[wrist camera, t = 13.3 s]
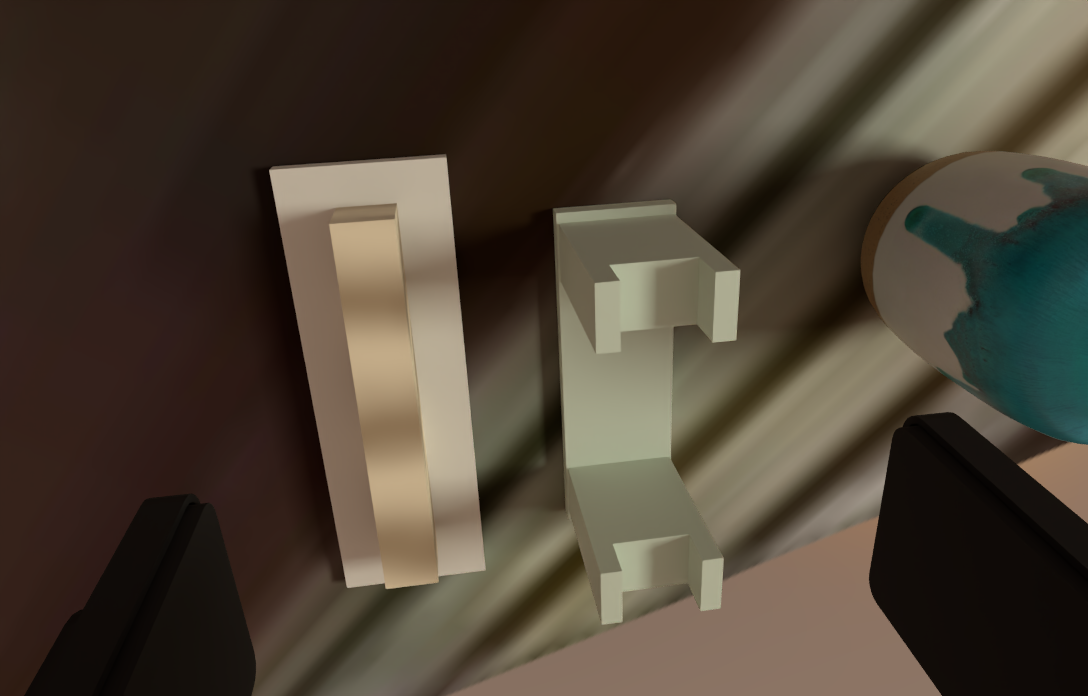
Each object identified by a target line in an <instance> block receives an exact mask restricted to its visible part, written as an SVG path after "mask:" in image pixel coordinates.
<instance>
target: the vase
mask: <svg viewBox="0 0 1088 696" xmlns="http://www.w3.org/2000/svg"><path fill="white" fill-rule="evenodd" d="M861 274H862V279H863V284H864V288H865V291H866V294H867V296H868V299H869V301H870V303H871V305H872V306H873V308H874V309H875V311H876V312H877V314H878V316H879V317H880V319H881V320H882V321H883V322H884V323H885V324H886V325H887V327H888V328H889V329H890V330H891V331H892V332H893V333H894V334H895V335H896V336H897V337H898V338H899V339H900V340H901V341H903V342H904V343H905V344H906V345H907V346H908V347H909V348H910V349H911V350H913V351H914V352H915V353H916V354H917V355H918V356H920V357H921V358H922V359H923V360H925V361H926V362H927V363H928V364H930V365H931V366H932V367H934V368H935V369H937V370H938V371H939V372H941V373H942V374H943V375H945V376H946V377H948V378H949V379H950V380H952V381H953V382H955V383H956V384H958V385H959V386H961V387H962V388H964V389H965V390H967V391H968V392H970V393H971V394H972V395H974V396H975V397H977V398H978V399H980V400H981V401H983V402H985V403H986V404H988V405H989V406H991V407H992V408H994V409H996V410H997V411H999V412H1001V413H1003V414H1004V415H1006V416H1008V417H1010V418H1011V419H1013V420H1015V421H1017V422H1019V423H1021V424H1023V425H1025V426H1027V427H1029V428H1032V429H1034V430H1036V431H1039V432H1041V433H1043V434H1046V435H1048V436H1051V437H1053V438H1056V439H1059V440H1063V441H1068V442H1073V443H1077V444H1086V445H1088V166H1085V165H1081V164H1076V163H1072V162H1068V161H1064V160H1059V159H1054V158H1048V157H1042V156H1036V155H1029V154H1021V153H1012V152H1002V151H974V152H963V153H959V154H955V155H950V156H947V157H944V158H941V159H938V160H936V161H933V162H931V163H928V164H926V165H925V166H923V167H921V168H919V169H918V170H916V171H914V172H913V173H911V174H910V175H909V176H907V177H906V178H905V179H903V180H902V181H901V182H899V183H898V184H897V185H896V186H895V187H894V188H893V189H892V190H891V191H890V192H889V193H888V194H887V195H886V197H885V198H884V199H883V201H882V202H881V203H880V204H879V206H878V208H877V209H876V211H875V213H874V214H873V216H872V218H871V220H870V222H869V225H868V227H867V229H866V233H865V236H864V240H863V244H862V252H861Z"/></svg>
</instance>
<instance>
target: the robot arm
mask: <svg viewBox="0 0 1088 696" xmlns="http://www.w3.org/2000/svg"><path fill="white" fill-rule="evenodd" d="M869 583H870V588H871V592H872V595H873V597H874V599H875V601H876V603H877V604H878V606H879V607H880V609H881V610H882V611H883V613H884V614H885V616H886V617H887V618H888V620H889V621H890V623H891V624H892V626H893V627H894V628H895V630H896V631H897V633H898V634H899V635H900V637H901V638H902V639H903V641H904V642H905V643H906V645H907V647H908V648H909V649H910V651H911V652H912V654H913V655H914V657H915V658H916V659H917V661H918V662H919V664H920V665H921V666H922V668H923V669H924V671H925V672H926V674H927V675H928V676H929V678H930V679H931V680H932V682H933V683H934V685H935V686H936V688H937V689H938V690H939V692H940V693H941V695H942V696H1088V524H1087V523H1086V522H1085V521H1084V520H1083V519H1081V518H1080V517H1079V516H1078V515H1077V514H1075V513H1074V512H1073V511H1072V510H1071V509H1069V508H1068V507H1067V506H1066V505H1065V504H1063V503H1062V502H1061V501H1060V500H1059V499H1057V498H1056V497H1055V496H1054V495H1053V494H1052V493H1050V492H1049V491H1048V490H1047V489H1045V488H1044V487H1043V486H1042V485H1041V484H1039V483H1038V482H1037V481H1036V480H1035V479H1034V478H1032V477H1031V476H1030V475H1029V474H1028V473H1026V472H1025V471H1024V470H1023V469H1022V468H1020V467H1019V466H1018V465H1017V464H1016V463H1014V462H1013V461H1012V460H1011V459H1010V458H1008V457H1007V456H1006V455H1005V454H1004V453H1002V452H1001V451H1000V450H999V449H998V448H996V447H995V446H994V445H993V444H992V443H990V442H989V441H988V440H987V439H986V438H985V437H983V436H982V435H981V434H980V433H979V432H977V431H976V430H975V429H974V428H973V427H971V426H970V425H969V424H968V423H967V422H965V421H964V420H963V419H962V418H961V417H959V416H958V415H956V414H954V413H951V412H945V413H936V414H926V415H917V416H911V417H909V418H907V420H906V421H905V423H904V425H903V427H901V428H898V429H896V431H895V432H894V434H893V438H892V443H891V449H890V455H889V461H888V467H887V473H886V479H885V485H884V490H883V496H882V502H881V508H880V514H879V520H878V526H877V532H876V537H875V543H874V549H873V555H872V561H871V567H870V573H869ZM255 675H256V660H255V654H254V649H253V646H252V642H251V639H250V635H249V631H248V628H247V624H246V620H245V617H244V613H243V609H242V606H241V602H240V599H239V595H238V591H237V588H236V584H235V580H234V577H233V573H232V569H231V566H230V562H229V559H228V555H227V551H226V548H225V544H224V540H223V537H222V533H221V530H220V526H219V522H218V519H217V515H216V512H215V509H214V507H213V505H212V504H210V503H204V504H200V502H199V499H198V498H197V497H196V495H194V494H184V495H175V496H165V497H156V498H149V499H146V500H145V501H144V502H143V503H142V505H141V506H140V508H139V510H138V512H137V513H136V515H135V517H134V519H133V521H132V522H131V524H130V526H129V528H128V530H127V531H126V533H125V535H124V537H123V539H122V540H121V542H120V544H119V546H118V548H117V549H116V551H115V553H114V555H113V557H112V558H111V560H110V562H109V564H108V566H107V567H106V569H105V571H104V573H103V575H102V576H101V578H100V580H99V582H98V584H97V585H96V587H95V589H94V591H93V593H92V594H91V596H90V598H89V600H88V602H87V603H86V605H85V607H84V609H83V610H80V611H78V612H76V613H75V614H73V615H72V616H71V617H70V619H69V620H68V621H67V623H66V624H65V625H64V627H63V629H62V631H61V632H60V634H59V636H58V638H57V639H56V641H55V643H54V645H53V646H52V648H51V650H50V652H49V653H48V655H47V657H46V659H45V660H44V662H43V664H42V666H41V667H40V669H39V671H38V673H37V674H36V676H35V678H34V680H33V681H32V683H31V685H30V687H29V688H28V690H27V692H26V694H25V695H24V696H251V695H252V691H253V687H254V682H255Z"/></svg>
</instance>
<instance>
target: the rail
mask: <svg viewBox="0 0 1088 696" xmlns="http://www.w3.org/2000/svg"><path fill="white" fill-rule="evenodd" d="M329 227H330V233H331V239H332V246H333V252H334V259H335V265H336V272H337V278H338V284H339V291H340V297H341V304H342V310H343V317H344V323H345V329H346V336H347V342H348V349H349V355H350V362H351V368H352V374H353V381H354V387H355V394H356V400H357V406H358V413H359V419H360V426H361V432H362V439H363V445H364V451H365V458H366V464H367V471H368V477H369V484H370V490H371V496H372V503H373V509H374V516H375V522H376V529H377V535H378V541H379V548H380V554H381V561H382V567H383V573H384V580H385V586H386V589H390V588H398V587H406V586H414V585H422V584H430V583H438V547H437V538H436V530H435V521H434V513H433V504H432V496H431V488H430V479H429V471H428V462H427V454H426V445H425V437H424V429H423V420H422V412H421V403H420V395H419V387H418V378H417V370H416V361H415V353H414V344H413V336H412V328H411V319H410V311H409V302H408V294H407V285H406V277H405V269H404V260H403V252H402V243H401V235H400V226H399V218H398V210H397V203H394V204H380V205H366V206H353V207H339V208H336V209H335V212H334V214H333V216H332V219H331V221H330V223H329Z"/></svg>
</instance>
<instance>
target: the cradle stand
mask: <svg viewBox="0 0 1088 696" xmlns="http://www.w3.org/2000/svg"><path fill="white" fill-rule="evenodd" d="M553 222H554V246H555V270H556V294H557V318H558V342H559V366H560V390H561V414H562V438H563V462H564V486H565V510H566V513H567V517H568V520H571V519H572V522H573V526H574V529H575V533H576V536H577V540H578V543H579V547H580V550H581V554H582V557H583V561H584V564H585V568H586V571H587V575H588V578H589V582H590V585H591V589H592V592H593V596H594V599H595V603H596V606H597V610H598V613H599V617H600V621H601V624H602V625H603V624H610V623H618V622H622V592H625V591H632V590H640V589H647V588H655V587H662V586H670V585H677V584H685V583H688V585H689V587H690V589H691V591H692V594H693V596H694V598H695V600H696V602H697V605H698V607H699V609H700V611H705V610H712V609H719V608H721V594H722V592H721V591H722V577H723V560H724V558H723V556H722V554H721V552H720V550H719V548H718V547H717V545H716V543H715V541H714V539H713V537H712V535H711V534H710V532H709V530H708V528H707V526H706V524H705V522H704V521H703V519H702V517H701V515H700V513H699V511H698V509H697V508H696V506H695V504H694V502H693V500H692V498H691V496H690V495H689V493H688V491H687V489H686V487H685V485H684V483H683V482H682V480H681V478H680V476H679V474H678V472H677V470H676V469H675V467H674V465H673V463H672V461H671V420H672V376H673V333H674V327H675V326H685V325H695V324H697V325H698V326H699V327H700V328H701V330H702V331H703V332H704V333H705V334H706V336H707V337H708V338H709V339H710V340H711V341H712V343H714V342H724V341H734V340H736V337H737V320H738V303H739V286H740V269H739V268H738V267H736V266H735V265H734V264H733V263H732V262H730V261H729V260H728V259H727V258H726V257H725V256H723V255H722V254H721V253H720V252H719V251H717V250H716V249H715V248H714V247H713V246H712V245H710V244H709V243H708V242H707V241H706V240H704V239H703V238H702V237H701V236H700V235H699V234H697V233H696V232H695V231H694V230H693V229H692V228H690V227H689V226H688V225H687V224H686V223H684V222H683V221H682V220H681V219H680V218H679V217H677V216H676V203H675V202H674V201H672V200H671V199H666V200H654V201H641V202H629V203H616V204H603V205H591V206H578V207H565V208H553Z"/></svg>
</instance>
